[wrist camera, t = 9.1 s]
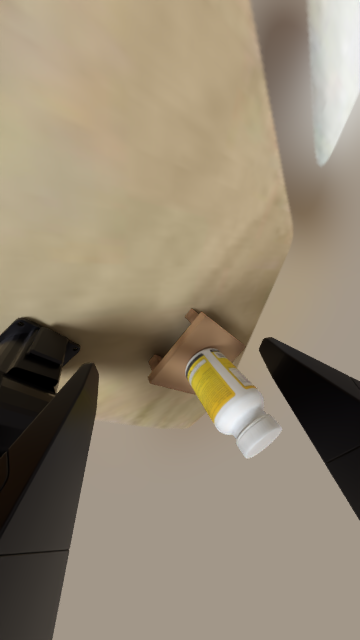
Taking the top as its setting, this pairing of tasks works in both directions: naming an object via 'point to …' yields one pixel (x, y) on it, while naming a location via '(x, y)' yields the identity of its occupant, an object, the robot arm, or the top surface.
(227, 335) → the small wooden stand
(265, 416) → the pill bottle
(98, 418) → the top surface
